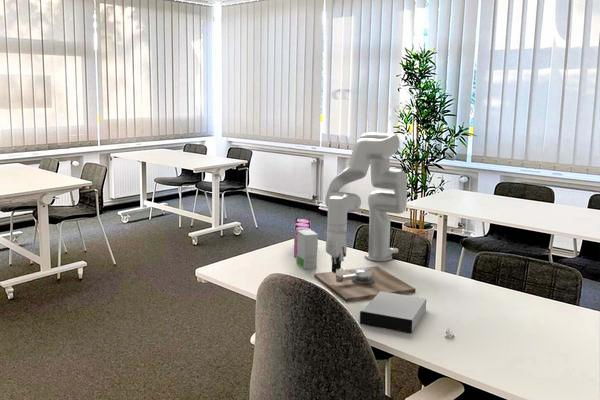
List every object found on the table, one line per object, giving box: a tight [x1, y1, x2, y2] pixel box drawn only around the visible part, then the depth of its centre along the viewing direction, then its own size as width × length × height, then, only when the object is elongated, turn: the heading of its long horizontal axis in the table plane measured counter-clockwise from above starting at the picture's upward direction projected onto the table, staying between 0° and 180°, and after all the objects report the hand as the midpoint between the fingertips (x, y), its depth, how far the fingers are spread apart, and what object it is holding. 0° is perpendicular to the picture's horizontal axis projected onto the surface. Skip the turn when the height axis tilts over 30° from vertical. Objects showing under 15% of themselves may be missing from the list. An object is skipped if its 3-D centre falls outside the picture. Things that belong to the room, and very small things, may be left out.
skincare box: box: [296, 229, 319, 270], centre depth 253 cm, size 8×7×16 cm
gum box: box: [293, 217, 312, 258], centre depth 277 cm, size 24×8×14 cm, turn 179°
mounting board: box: [313, 265, 416, 303], centre depth 231 cm, size 30×30×2 cm
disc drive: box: [359, 291, 427, 335], centre depth 199 cm, size 18×22×5 cm
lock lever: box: [336, 267, 372, 282], centre depth 228 cm, size 16×9×5 cm, turn 116°
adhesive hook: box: [444, 327, 455, 339], centre depth 184 cm, size 3×3×3 cm
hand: (336, 271), depth 228 cm, fingers closed
